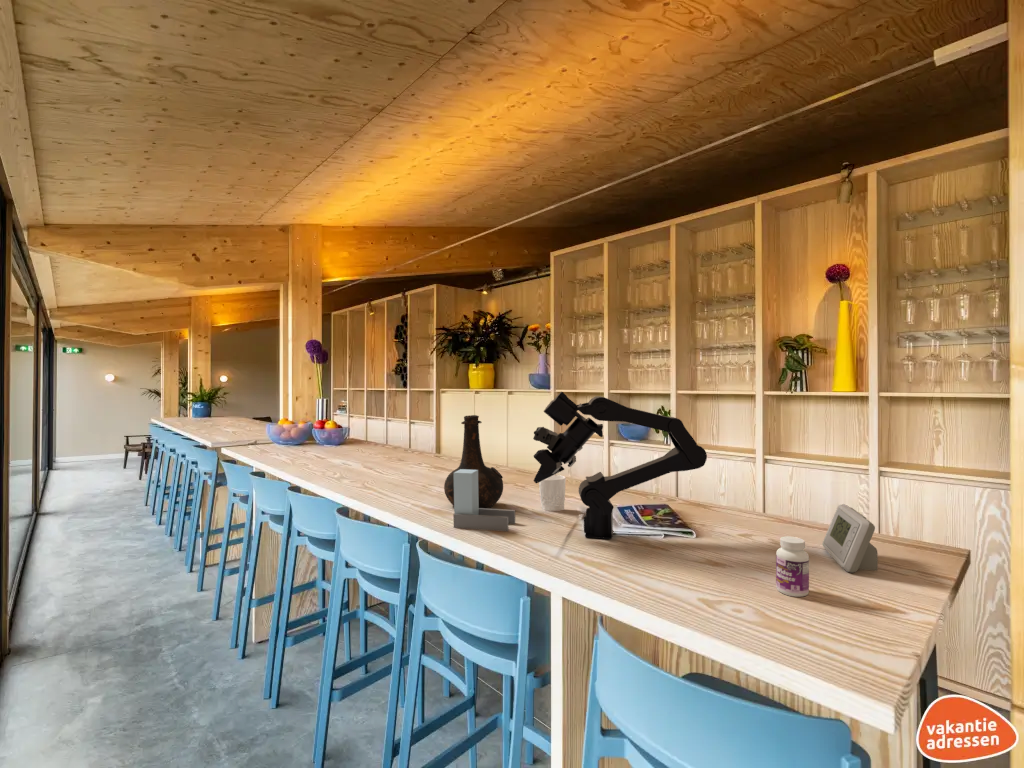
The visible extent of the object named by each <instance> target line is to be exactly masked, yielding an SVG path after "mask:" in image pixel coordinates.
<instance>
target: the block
mask: <svg viewBox="0 0 1024 768" xmlns="http://www.w3.org/2000/svg"><path fill="white" fill-rule="evenodd" d="M453 509H454V510H453V511H454V512H453V514H455V513H456V514H473V515H479V497H478V470H468V469H460V470H458V471H456V472H454V505H453Z"/></svg>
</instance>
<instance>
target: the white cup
mask: <svg viewBox="0 0 1024 768" xmlns="http://www.w3.org/2000/svg"><path fill="white" fill-rule="evenodd" d="M566 478H567V477H566V476H564V475H561V474H555V475H553V476H551V477H549V478H547V479H545V480H543V481H541V482H539V483H538V488H539V501H540V509H541V510H542V511H545V512H559V511H564V510H565V500H566V483H567V482H566Z"/></svg>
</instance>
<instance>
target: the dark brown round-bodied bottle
mask: <svg viewBox="0 0 1024 768" xmlns="http://www.w3.org/2000/svg"><path fill="white" fill-rule="evenodd" d="M479 417H480V415H476V414H471V415H464V416H463V419H464V420H463V421H461V424H462V425H463V428H464V429H463V444H462V445H463V446H462V452H461V461H460V464H459V466H458V467H457V468H456V469H454V470H452V471H451V472H450V473H449V474H448V475H447V477H446V478H445V481H444V484H443V489H444V495H445V497H446V499H447V500H448V501H449V503H450V504H451V505H452V506H454V472H456V471H458V470H460V469H468V470H478V497H479V508H487V509H490V508H492V507H493V506H494V505H496V504H497V503H498V502H499V500H500V498H501V497H502V496H503V493H504V492H503V491H504V481H503V478H504V477H503V475H502V474H501V473H500V472H499V471H498V470H497V469H496V468H495V467H493V466H491V467H488V466H487V465H486V464H485V463H484V459H483V454H482V449H481V441H480V430H479V429H480V427H479V424H482V421H481V420H479Z"/></svg>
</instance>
